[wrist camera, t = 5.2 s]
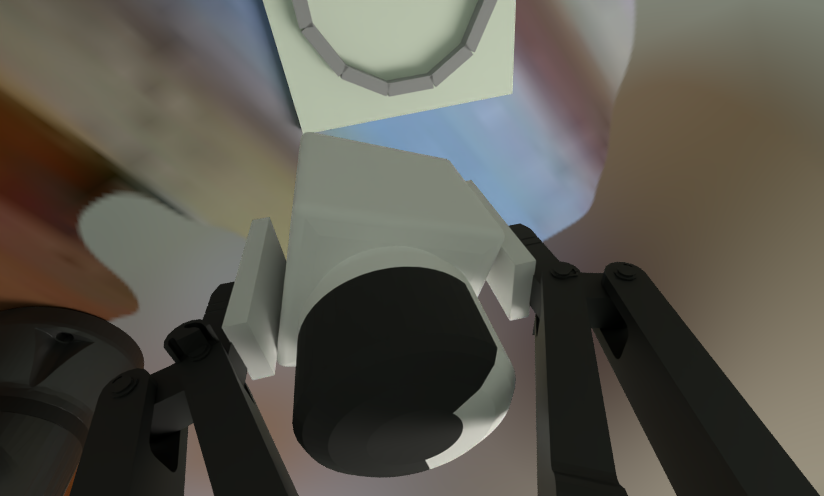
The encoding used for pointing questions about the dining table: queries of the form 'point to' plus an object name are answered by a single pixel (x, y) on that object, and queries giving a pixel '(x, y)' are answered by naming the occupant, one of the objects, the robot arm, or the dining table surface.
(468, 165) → the dining table surface
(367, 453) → the medicine bottle
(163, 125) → the dining table surface
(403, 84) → the socket board
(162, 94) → the dining table surface
